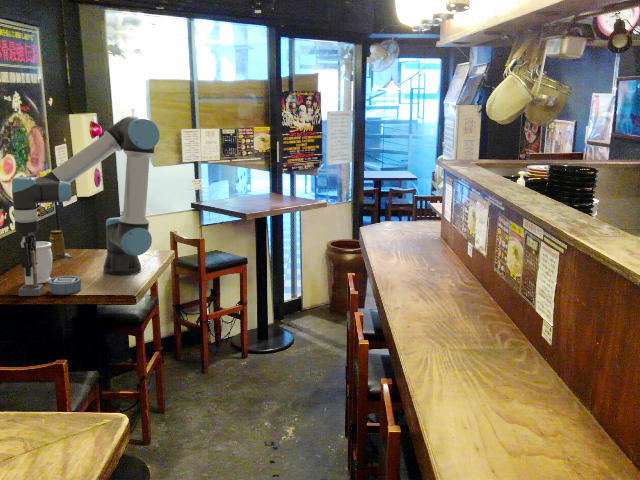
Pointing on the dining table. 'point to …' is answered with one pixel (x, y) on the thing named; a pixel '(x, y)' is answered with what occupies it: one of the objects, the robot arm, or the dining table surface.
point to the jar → (43, 261)
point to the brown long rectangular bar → (33, 262)
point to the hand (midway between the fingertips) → (30, 283)
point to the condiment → (57, 245)
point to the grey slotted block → (31, 291)
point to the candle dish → (64, 285)
